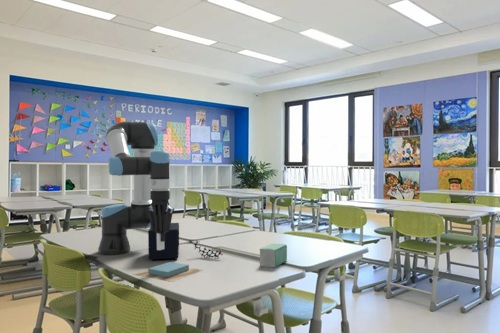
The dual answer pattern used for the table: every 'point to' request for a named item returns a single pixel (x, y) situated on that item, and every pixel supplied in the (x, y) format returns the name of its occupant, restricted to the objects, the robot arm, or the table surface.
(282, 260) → the box
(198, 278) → the table surface
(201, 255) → the molecular model
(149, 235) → the speaker
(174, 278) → the mat
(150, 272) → the tile
